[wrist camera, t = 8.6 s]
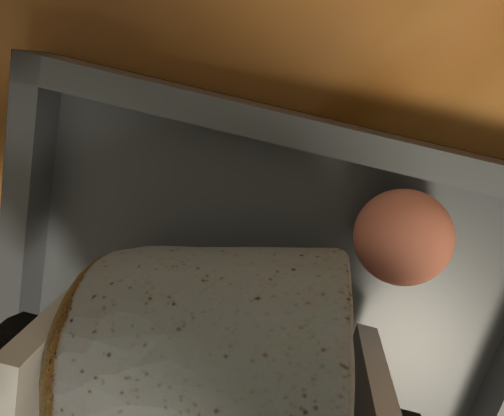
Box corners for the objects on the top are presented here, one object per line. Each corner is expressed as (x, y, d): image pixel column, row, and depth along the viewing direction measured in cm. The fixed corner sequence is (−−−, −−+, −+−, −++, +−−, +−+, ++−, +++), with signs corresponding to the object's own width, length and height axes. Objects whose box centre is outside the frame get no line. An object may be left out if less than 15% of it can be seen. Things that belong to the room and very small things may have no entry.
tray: (15, 405, 22) (-16, 440, 20) (47, 52, 17) (11, 49, 15) (439, 520, 21) (454, 570, 19) (590, 180, 16) (632, 195, 14)
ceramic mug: (117, 216, 17) (-21, 325, 10) (343, 215, 16) (374, 335, 9) (146, 450, 20) (57, 667, 13) (339, 461, 19) (360, 700, 12)
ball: (450, 291, 16) (368, 254, 18) (483, 204, 15) (394, 174, 17) (413, 314, 14) (324, 268, 16) (449, 213, 13) (350, 177, 15)
